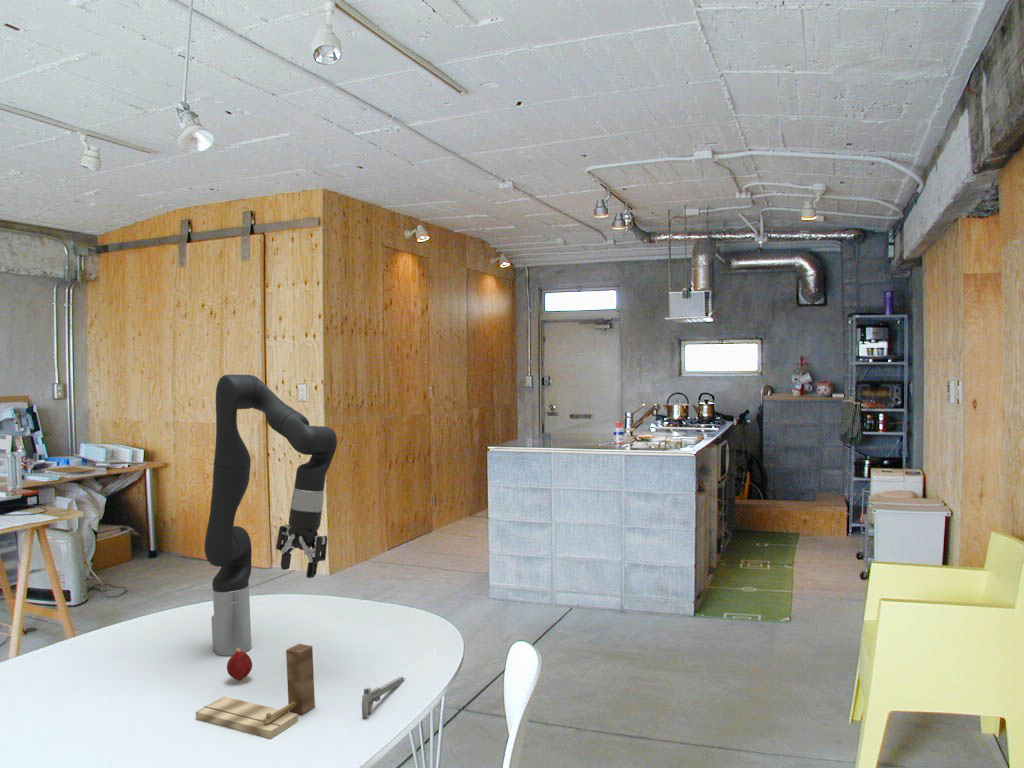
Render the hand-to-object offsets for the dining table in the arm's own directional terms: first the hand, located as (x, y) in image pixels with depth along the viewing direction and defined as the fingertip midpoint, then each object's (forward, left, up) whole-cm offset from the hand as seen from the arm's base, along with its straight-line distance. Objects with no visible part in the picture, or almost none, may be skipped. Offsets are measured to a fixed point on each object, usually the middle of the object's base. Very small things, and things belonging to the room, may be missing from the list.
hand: (297, 573), depth 183 cm
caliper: (+25, 0, -27) cm, 37 cm away
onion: (-14, -6, -27) cm, 31 cm away
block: (+11, -17, -26) cm, 33 cm away
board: (+3, -21, -26) cm, 34 cm away
